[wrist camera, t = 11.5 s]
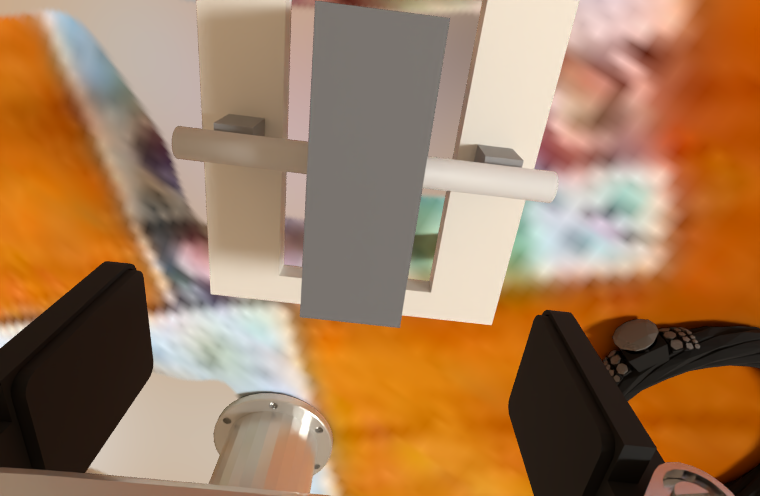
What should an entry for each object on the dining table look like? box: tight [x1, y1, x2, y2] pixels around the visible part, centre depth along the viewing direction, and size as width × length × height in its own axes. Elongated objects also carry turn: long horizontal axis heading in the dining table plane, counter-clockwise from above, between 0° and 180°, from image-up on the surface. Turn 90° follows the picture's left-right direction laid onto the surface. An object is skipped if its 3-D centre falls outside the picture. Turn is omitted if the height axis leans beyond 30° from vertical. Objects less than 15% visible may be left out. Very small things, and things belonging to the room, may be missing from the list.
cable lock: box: [603, 319, 760, 496], centre depth 47 cm, size 28×4×30 cm
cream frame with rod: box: [172, 0, 579, 325], centre depth 29 cm, size 22×19×14 cm
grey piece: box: [300, 1, 450, 328], centre depth 26 cm, size 14×5×12 cm, turn 173°
